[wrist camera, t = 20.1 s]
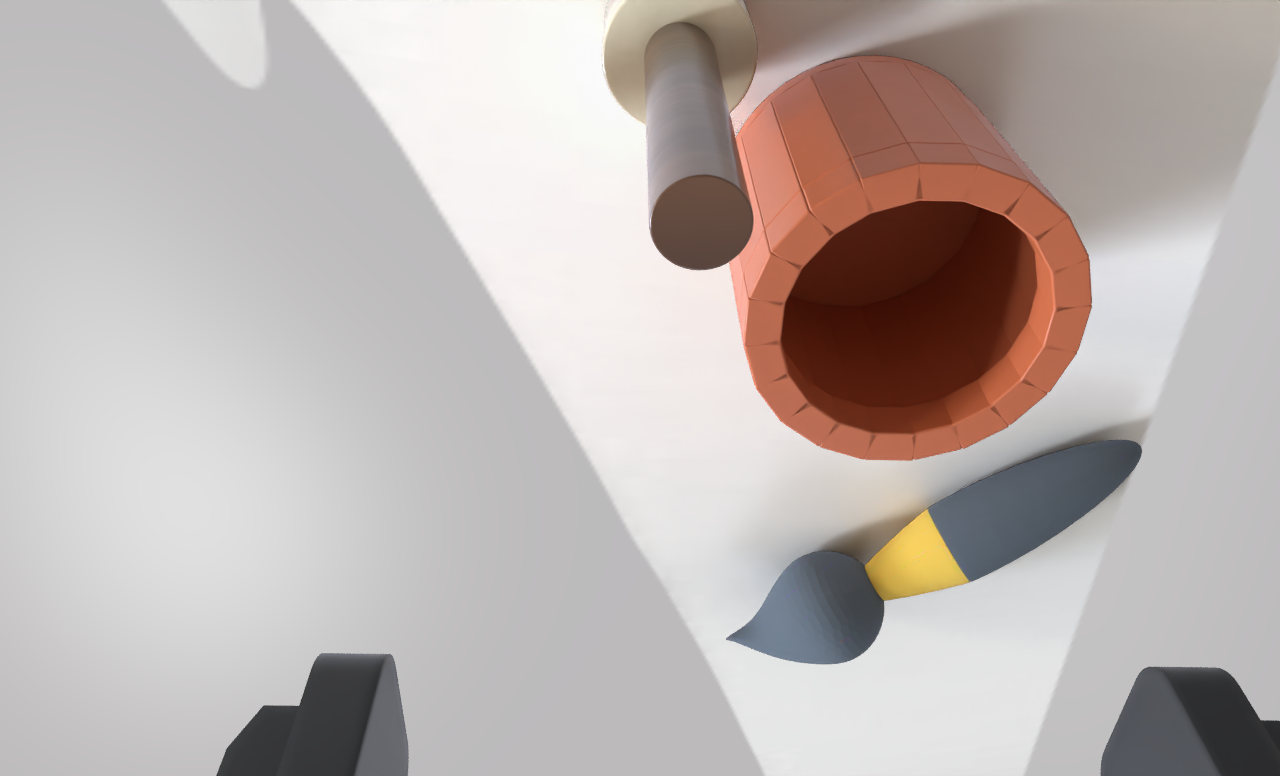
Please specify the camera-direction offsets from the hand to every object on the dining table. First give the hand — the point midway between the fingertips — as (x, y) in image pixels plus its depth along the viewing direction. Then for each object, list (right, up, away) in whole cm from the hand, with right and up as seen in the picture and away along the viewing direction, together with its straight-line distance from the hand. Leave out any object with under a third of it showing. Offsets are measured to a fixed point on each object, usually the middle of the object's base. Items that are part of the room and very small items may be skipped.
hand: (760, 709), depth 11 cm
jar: (+7, +11, +27) cm, 30 cm away
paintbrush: (+11, -2, +36) cm, 38 cm away
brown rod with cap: (0, +16, +24) cm, 29 cm away
